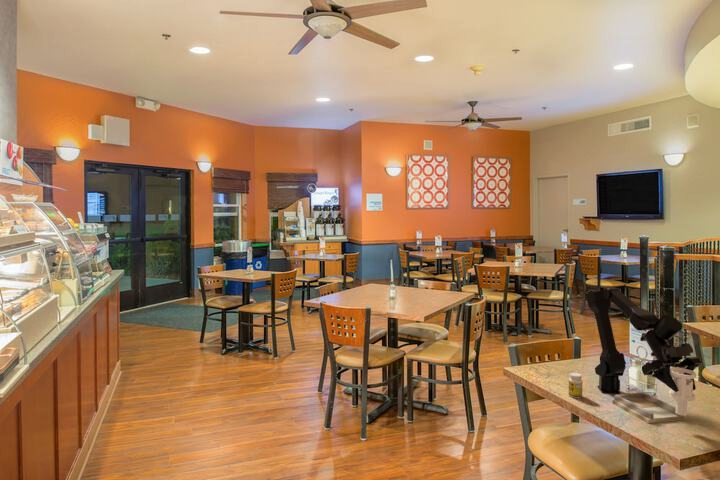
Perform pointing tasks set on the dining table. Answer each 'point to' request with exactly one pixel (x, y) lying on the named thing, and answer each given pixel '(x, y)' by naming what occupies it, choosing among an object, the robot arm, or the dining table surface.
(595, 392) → the dining table surface
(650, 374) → the robot arm
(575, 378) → the supplement bottle
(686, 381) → the beige tall round piece
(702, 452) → the dining table surface
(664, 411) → the rail board
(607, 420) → the dining table surface
